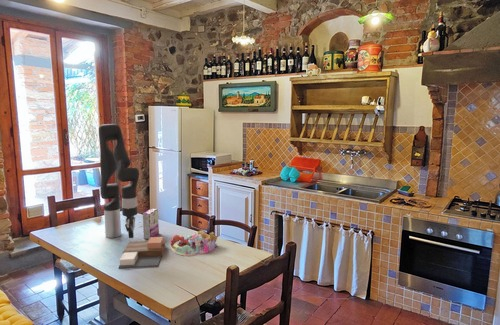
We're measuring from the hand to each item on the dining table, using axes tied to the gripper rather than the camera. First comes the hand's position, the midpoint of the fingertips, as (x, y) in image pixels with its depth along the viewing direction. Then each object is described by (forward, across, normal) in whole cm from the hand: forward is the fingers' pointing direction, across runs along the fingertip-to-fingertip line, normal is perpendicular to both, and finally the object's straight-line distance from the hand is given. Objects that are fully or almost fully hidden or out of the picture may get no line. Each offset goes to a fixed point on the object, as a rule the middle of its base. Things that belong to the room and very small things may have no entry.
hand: (131, 237), depth 176 cm
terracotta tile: (+8, -8, +11) cm, 15 cm away
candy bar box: (+12, -34, +5) cm, 36 cm away
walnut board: (+12, -7, +6) cm, 15 cm away
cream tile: (+11, +5, 0) cm, 12 cm away
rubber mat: (+12, +6, +6) cm, 14 cm away
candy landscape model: (+12, -11, +32) cm, 37 cm away
